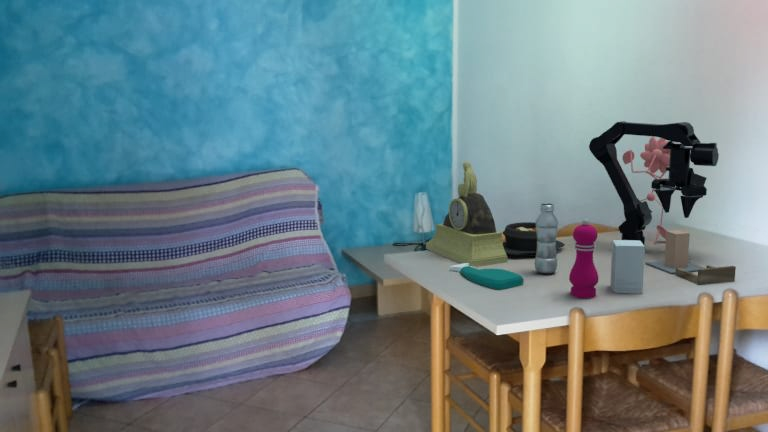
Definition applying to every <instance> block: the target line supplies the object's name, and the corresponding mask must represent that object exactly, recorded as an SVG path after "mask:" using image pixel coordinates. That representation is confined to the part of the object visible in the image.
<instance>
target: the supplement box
mask: <svg viewBox="0 0 768 432" xmlns="http://www.w3.org/2000/svg"><path fill="white" fill-rule="evenodd" d="M645 249H646V245H643V243H642V242H641V241H639V240H621V239H613V240H612V242H611V259H610V260H611V261H610V264H611V265H610V288H611V290H612V292H613V293H615V294H616V293H617V294H638V295H641V294H643V290H644V267H645V251H646V250H645Z"/></svg>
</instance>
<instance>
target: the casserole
mask: <svg viewBox="0 0 768 432" xmlns="http://www.w3.org/2000/svg"><path fill="white" fill-rule="evenodd" d="M502 234H503V236H504V239H505V241H502V244H503V247H504V250H505V252H506V255H519V256H527V257H528V256H530V257H531V256H535V257H536V251H537V233H536V224H535V222H530V221H529V222H527V221H526V222H515V223H510V224H507V225H506V226H505V227H504V230H503V231H502ZM564 246H566V244H565V243H564V242H562V241H560V240H557V239H556V251H557V250H559V248H562V247H564Z"/></svg>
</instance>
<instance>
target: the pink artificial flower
mask: <svg viewBox="0 0 768 432" xmlns="http://www.w3.org/2000/svg"><path fill="white" fill-rule="evenodd" d="M668 142H669V140H665V139H663V138H660V137H659V139H658V140H657V139H656V137H653V136H650V138H649V140H648V143H645V144H644V151H642V152H641V153H640V154H639V155H640V158H641V159H642V160H643V161H644V163H643V165H644V167H645V168H648V169H646V170H634V164H633V161H634V159H635V152H634V151H633V150H632V149H629V150H626V151H625V152H624V153H623V154H622V161H623V164H624V165H628V164H630V169H631V173H632V174H633V173H634V174H635V173H639V174H641V173H645V174H648V175H649V176H651V177H652V178H653V179H663V177H664V175H665V174H666V173H667V172H668V171H666V167H669V160H670V149H663V146H665V145H666V144H667V143H668ZM658 171H660V173H662V174H661V175H660V176H659V175H657V174H655V173H656V172H658ZM654 190H655V189H653V188H652V190H651V193H648V194H647V195H646V197H645V198H643V199H641V200H640V201H641V202H644V201H648V202H654V201H656V202H657V203H658V205H660V206H661V208H662V209H661V217H660V224H657V226H656V230H657V233H656V234H655V235H656V236H655V239H654V241H653V243H654V244H656V243H657V241H658V237H659V235H660V236H661V237H662V238H664V239H665V240H666V231H667V229H666V228H665V227H664V226H662V223H663V217H664V216H663V214H664V209H663V206H662V204H661V202H660V201H658V199H656V195H655V194H654V192H655V191H654ZM647 234H648V235H649V234H650V235H654V233H652V232H647Z"/></svg>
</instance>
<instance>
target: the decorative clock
mask: <svg viewBox="0 0 768 432" xmlns="http://www.w3.org/2000/svg"><path fill="white" fill-rule="evenodd" d="M462 168H463V170H464V172H463V183H458V184H457V194H458V195H457V196H458V198H457V197H456V198H453V199H452V200H451V201H450V203H449V207H448V213H447V214H446V215H445V217H444V220H443V222H442V223H436V228H435V229H436V230H435V233H434V235H433V237H432V238H431V239H429V241H427V242H426V243H425V249H426V250H428V251H431V252H432V253H435V254H437V255H440V256H443V257H445V258H448V259H450V260H453V261H455V262H457V263H459V264H462V263H469V264H470V265H469V266H473V267H477V268H479V267H484V266H485V267H486V266H491V265H498V264H504V263H508V255H507V254H506V252H505V250H504V247H503V244H502V243H503V238H502V237H503V235H502V234H503V232H500V231H498V230H497V229H496V223H495V220H494V217H493V213H492V210H491V208H490V207H489V205H488V203H487V201H486V200H485V196H483V195H482V194H480V193H479V192H478V193H477V190H478V180H477V176H476V172H475V171H474V169H473V168H472V164H471V162H470V161H464V162H463V164H462Z"/></svg>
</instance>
